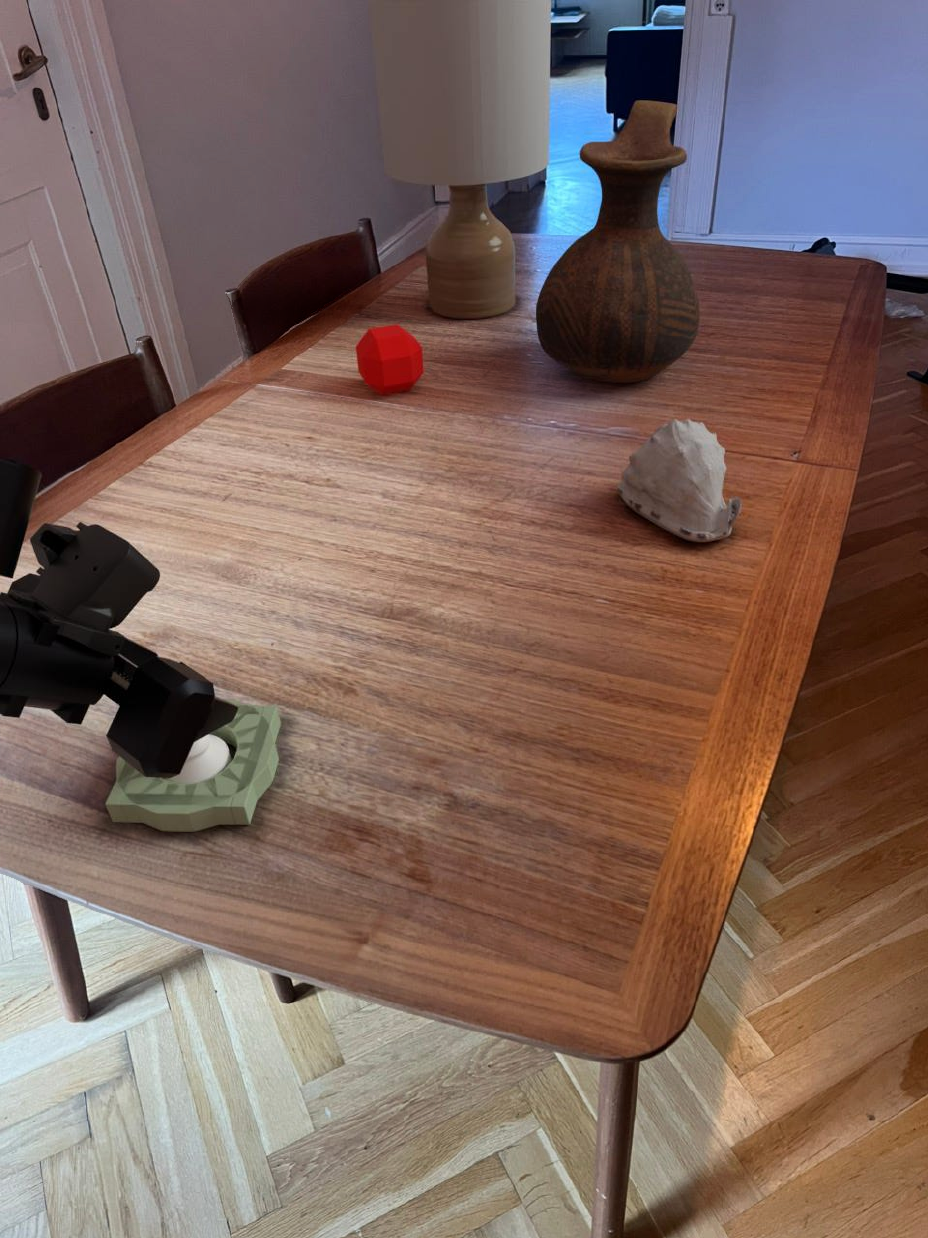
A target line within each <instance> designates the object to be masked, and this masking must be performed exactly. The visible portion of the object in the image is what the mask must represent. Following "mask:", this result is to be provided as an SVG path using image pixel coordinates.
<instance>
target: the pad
mask: <svg viewBox="0 0 928 1238" xmlns="http://www.w3.org/2000/svg"><path fill="white" fill-rule="evenodd" d="M222 699H223V700H225V701H227V702H229V703H232V704H234V705H236V706H237V707H238V711H237V713H236V715H235V718H234V720H233V721H232V722H230V723H228V724H227V725H225V726H223V727H221V728H219V729H217V730H216V731H214V732H212V733H210V734H209V735H214V736H216V737H219V738H220V739H222V740H223V741H224V742H225V743H226V744H227V745H231V746H233V747H234V749H236V750H235V753H234V757H233V758H232V761H231V763H230V764H229V765H228V766H227V767H226V768H225V769H224V770H223V771H222V772H220V773H218V774H217V775H215V776H213V777H212V778H210V779H208V780H204V781H201V782H197V783H193V784H174V783H172V782H169V781H167V780H164V778H154V777H145V776H144V775H142V774H141V773H140V772H139V771H137V770H136V769H135V768H134V767H132V766H131V765H130V764H129V763H127V762H126V761H125V760H124V759H122V758H121V757H120V756H118V757H117V759H116V761H115V778H116V779H115V783H114V785H113V787H112V789H111V791H110V793H109V795H108V797H107V800H106V801H105V808H106V809H107V812H108V814H109V816H110V819H111V820H112V822H113V823H129V824H130V823H131V824H132V823H133V824H135V823H136V824H137V823H138V824H145V825H147V826H150V827H152V828H154V829H157V830H159V831H161V832H184V833H195V832H199V831H202V830H206V829H209V828H213V827H215V826H219V825H225V826H227V825H230V826H231V825H232V826H235V825H237V826H239V825H240V826H243V825H244V826H249V825H251V823H252V819H253V816H254V813H255V810H256V807H257V803H258V800H259V799H261V798H262V796H263V794H265V792H266V791H267V790H268V789H269V788H270V786H271V785H272V783H273V782H274V778H275V775H276V771H277V770H278V769H277V768H278V765H279V761H280V757H279V752H278V748H277V745H276V742H277V739H278V735H279V732H280V729H281V725H282V722H281V717H280V713H279V709H278V706H277V705H260V704H259V705H257V704H256V705H255V704H254V705H252V704H251V705H249V704H247V703H244V702H240V701H238V700H235V699H232V698H231V699H230V698H222Z"/></svg>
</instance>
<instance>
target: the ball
mask: <svg viewBox="0 0 928 1238" xmlns="http://www.w3.org/2000/svg"><path fill="white" fill-rule="evenodd" d="M355 353H356V362H357V369H358V373H359V375H360V377H361V379H362V380H363V381H364V383H365V384H366V385H367V386H368V387H370V388H372V389H373V390H374V391H375V392H377V393H378V394H380V395H381V396H386V395H392V394H397V393H402V392H408V391H409V392H410V391H411V390H412V389H413V388H414V386H415V385H416V384H417V382H418V381H419V380H420V378H421V377H422V376H423V375H424V374H425V367H424V355H423V346H422V345H421V343H419V341H418V340H417V338H416V337H415V336H414V335H413V334H411V333H410V332H408V331H407V330H406V329H404V328H403V327H402V326H401V325H400V324H398V323H396V324H390V325H389V324H388V325H384V326H383V325H382V326H377V327H371V328H368V329H367V331H365V334H364V335H363V336H362V338H361V339H360V340H359V341H358V343H357V344H356V346H355Z"/></svg>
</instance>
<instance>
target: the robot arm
mask: <svg viewBox="0 0 928 1238" xmlns="http://www.w3.org/2000/svg"><path fill="white" fill-rule="evenodd" d="M42 476H43V475H42V472H41V471H40V470H38V469H36V468H35V467H32V466H30V465H29V464H26V463H24V462H22V461H20V460H19V461H18V460H15V459H11V458H3V457H0V577H3V578H8V579H14V576H15V572H16V570H17V566H18V564H19V563H18V562H19V560H20V556H21V552H22V548H23V544H24V541H25V537H26V535H27V530H28V527H29V523H30V519H31V516H32V512H33V508H34V504H35V501H36V497H37V494H38V490H39V486H40V483H41V480H42ZM76 528H77V530H76V529H73V528H71V527H70V526H63V525H58V524H53V523H48V522H44V523H43V524H42V525H41V526H40V527H39V528H38V529H37V530H36V531H35V532H34V534H33V535H32V536H31V537H30V539H29V542H30V545H31V548H32V550H33V553H34V556H35V558H36V561H37V563H38V564H39V565H40V566H39V567H38V569H36V571H35V573H32V572H29V573H27V574H25V575H23V576H21V577H19V578H17V579H15V580H14V581H12V582H11V584H10V586H9V588H8V590H7V592H3V591H0V715H1V716H2V717H7V718H17V719H20V718H21V715H22V713H23V711H24V709H25V708H34V709H42V710H49V711H51V712H52V713H54V714H55V715H56V716H57V717H59V718H60V719H61V720H63V722H65V723H66V724H72V725H73V724H74V725H82V724H83V721H84V720H85V717H86V715H87V712H88V710H89V708H90V706H95V705H96V704H97V703H99V701H101V699H102V698H103V697H104V696H105V697H107V698H108V699H109V700H111V701H112V702H113V703H115V704H116V705H118V709H117V711H116V713H115V715H114V717H113V720H112V722H111V724H110V726H109V728H108V731H107V733H106V739H107V741H108V743H109V746H110V748H111V750H112V752H113V753H115V754H116V755H117V756H118V757H119V756H120V757H121V758H122V759H124V760H125V761H126V762H127V763H129V764H130V765H131V766H132V767H134V768H135V769H136V770H137V771H139V772H140V773H141V774H142V775H144V776H145V777H154V778H162V779H164V778H172V777H174V776H177V775H179V774H180V773H181V770H182V768H183V766H184V764H185V761H186V759H187V757H188V755H189V753H190V750H191V748H192V746H193V744H194V742H196V741H197V740H199V739H201V738H203V737H204V736H206V735H208V734H210V733H212V732H214V731H216V730H217V729H219V728H221V727H223V726H225V725H227V724H228V723H230V722H232V721H233V720H234V718H235V715H236V713H237V711H238V707H237V706H236V705H234V704H232V703H229V702H227V701H225V700H223V699H224V698H220V697H218V696H216V693H215V686H214V683H213V682H212V681H211V680H210V679H207V678H206V677H205V676H204V675H202V674H201V673H199V672H198V671H197V670H195V669H194V668H192V667H190V666H188V664H186V663H184V662H183V661H179V662H178V661H176V660H173V659H171V658H167V657H161V656H159V654H158V653H157V652H155V651H154V650H152V649H150V648H149V647H146V646H143V645H142V644H139V643H138V642H136V641H134V640H133V639H130V638H128V637H126V636H124V635H123V634H122V633H120V632H119V631H117V630H112V629H114V628H116V627H118V626H119V625H121V624H122V623H123V622H124V621H125V619H126V618H127V617H128V616H129V615H130V613H131V612H132V611H133V610H134V608H135V607H137V606H138V604H139V603H140V601H141V600H143V598H144V597H145V596H146V594H147V593H150V592H152V591H153V590H154V589H155V588H156V586H157V585H158V583H159V581H160V579H161V572H160V569H159V568H158V567H157V566H156V565H154V564H153V563H152V562H151V561H150V560H148V558H146V557H145V555H143V554H142V553H141V552H140V551H139V550H138V549H137V548H136V547H135V546H134V545H132V544H131V543H130V542H129V541H128V540H126V539H125V538H123V537H121V536H120V535H118V534H116V533H115V532H112V531H110V530H109V529H107V528H106V527H103V526H102V525H100V524H96V523H95V524H94V523H93V524H89V525H87V524H85V523H83V522H82V521H79V522H78V523H77V524H76Z"/></svg>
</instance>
